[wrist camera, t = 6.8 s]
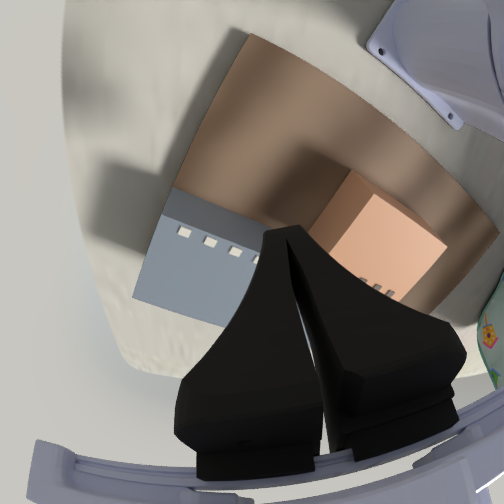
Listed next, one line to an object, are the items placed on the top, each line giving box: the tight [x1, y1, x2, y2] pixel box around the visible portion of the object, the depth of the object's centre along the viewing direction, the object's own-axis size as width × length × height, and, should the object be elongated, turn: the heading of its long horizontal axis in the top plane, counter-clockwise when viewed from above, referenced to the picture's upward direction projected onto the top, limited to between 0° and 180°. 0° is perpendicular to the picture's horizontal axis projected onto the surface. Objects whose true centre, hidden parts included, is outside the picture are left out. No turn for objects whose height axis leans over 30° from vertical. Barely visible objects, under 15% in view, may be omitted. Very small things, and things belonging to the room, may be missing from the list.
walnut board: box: [145, 33, 500, 315], centre depth 22 cm, size 28×17×1 cm, turn 62°
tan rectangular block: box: [308, 170, 447, 302], centre depth 19 cm, size 8×6×4 cm
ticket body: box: [132, 187, 311, 349], centre depth 20 cm, size 14×7×4 cm, turn 62°
